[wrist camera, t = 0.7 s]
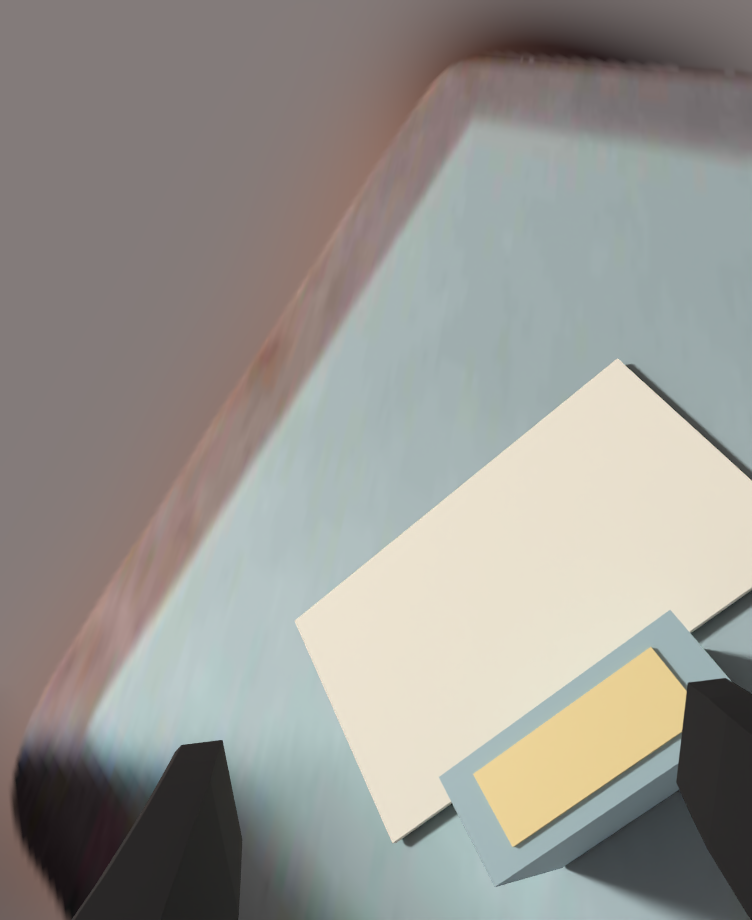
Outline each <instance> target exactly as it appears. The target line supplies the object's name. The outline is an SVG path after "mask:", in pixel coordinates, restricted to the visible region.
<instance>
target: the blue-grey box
mask: <svg viewBox="0 0 752 920" xmlns="http://www.w3.org/2000/svg"><path fill="white" fill-rule="evenodd" d="M720 678H727V679H728V680H730V679H729V678H728V677H727V675H726V674H725V673H724V672H723V671H722V670H721V668H720V667H719V666H718V665H717V664H716V663H715V661H714V660H713V659H712V658H711V657H710V656H709V654H708V653H707V652H706V651H705V650H704V649H703V647H702V646H701V645H700V644H699V643H698V641H697V640H696V639H695V638H694V637H693V636H692V634H691V633H690V632H689V631H688V630H687V629H686V627H685V626H684V625H683V624H682V623H681V622H680V620H679V619H678V618H677V617H676V616H675V615H674V613H673V612H672V611H671V610H669V611H668V612H666V613H665V614H663V615H662V616H661V617H659V618H658V619H657V620H655V621H654V622H652V623H651V624H650V625H648V626H647V627H645V628H644V629H643V630H641V631H640V632H639V633H637V634H636V635H634V636H633V637H632V638H630V639H629V640H628V641H626V642H625V643H623V644H622V645H621V646H619V647H618V648H616V649H615V650H614V651H612V652H611V653H610V654H608V655H607V656H605V657H604V658H603V659H601V660H600V661H598V662H597V663H596V664H594V665H593V666H592V667H590V668H589V669H587V670H586V671H585V672H583V673H582V674H581V675H579V676H578V677H576V678H575V679H574V680H572V681H571V682H569V683H568V684H567V685H565V686H564V687H563V688H561V689H560V690H558V691H557V692H556V693H554V694H553V695H552V696H550V697H549V698H547V699H546V700H545V701H543V702H542V703H540V704H539V705H538V706H536V707H535V708H534V709H532V710H531V711H529V712H528V713H527V714H525V715H524V716H522V717H521V718H520V719H518V720H517V721H516V722H514V723H513V724H511V725H510V726H509V727H507V728H506V729H505V730H503V731H502V732H500V733H499V734H498V735H496V736H495V737H493V738H492V739H491V740H489V741H488V742H487V743H485V744H484V745H482V746H481V747H480V748H478V749H477V750H476V751H474V752H473V753H471V754H470V755H469V756H467V757H466V758H464V759H463V760H462V761H460V762H459V763H458V764H456V765H455V766H453V767H452V768H451V769H449V770H448V771H446V772H445V773H444V774H442V775H441V776H440V777H439V779H440V781H441V783H442V784H443V786H444V788H445V790H446V792H447V794H448V796H449V798H450V800H451V802H452V804H453V806H454V808H455V810H456V812H457V814H458V816H459V818H460V820H461V822H462V824H463V826H464V828H465V830H466V832H467V834H468V836H469V838H470V839H471V841H472V843H473V845H474V847H475V849H476V851H477V853H478V855H479V857H480V859H481V861H482V863H483V865H484V867H485V869H486V871H487V873H488V875H489V877H490V879H491V881H492V883H493V885H494V887H497V886H500V885H504V884H507V883H511V882H514V881H518V880H521V879H525V878H528V877H532V876H535V875H539V874H542V873H546V872H549V871H553V870H556V869H560V868H563V867H564V866H566V865H567V864H569V863H570V862H572V861H573V860H575V859H576V858H578V857H579V856H581V855H582V854H584V853H585V852H587V851H588V850H590V849H591V848H593V847H594V846H596V845H597V844H599V843H600V842H602V841H603V840H605V839H606V838H607V837H609V836H610V835H612V834H613V833H615V832H616V831H618V830H619V829H621V828H622V827H624V826H625V825H627V824H628V823H630V822H631V821H633V820H634V819H636V818H637V817H639V816H640V815H642V814H643V813H645V812H646V811H648V810H649V809H651V808H652V807H654V806H655V805H657V804H658V803H660V802H661V801H663V800H664V799H666V798H667V797H669V796H670V795H672V794H673V793H675V792H676V791H678V790H679V787H678V785H677V783H676V779H677V771H678V762H679V753H680V745H681V736H682V728H683V719H684V710H685V702H686V693H687V684H688V682H696V681H704V680H712V679H720ZM730 681H731V680H730Z"/></svg>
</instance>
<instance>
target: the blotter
mask: <svg viewBox="0 0 752 920" xmlns="http://www.w3.org/2000/svg"><path fill="white" fill-rule="evenodd" d="M751 590H752V480H751V479H749V478H748V477H747V476H746V475H745V474H744V473H743V472H742V471H741V470H740V469H738V468H737V467H736V466H735V465H734V464H733V463H732V462H731V461H730V460H729V459H728V458H726V457H725V456H724V455H723V454H722V453H721V452H720V451H719V450H718V449H717V448H715V447H714V446H713V445H712V444H711V443H710V442H709V441H708V440H707V439H706V438H704V437H703V436H702V435H701V434H700V433H699V432H698V431H697V430H696V429H695V428H693V427H692V426H691V425H690V424H689V423H688V422H687V421H686V420H685V419H684V418H682V417H681V416H680V415H679V414H678V413H677V412H676V411H675V410H674V409H673V408H671V407H670V406H669V405H668V404H667V403H666V402H665V401H664V400H663V399H662V398H660V397H659V396H658V395H657V394H656V393H655V392H654V391H653V390H652V389H651V388H649V387H648V386H647V385H646V384H645V383H644V382H643V381H642V380H641V379H640V378H638V377H637V376H636V375H635V374H634V373H633V372H632V371H631V370H630V369H629V368H627V367H626V366H625V365H624V364H623V363H622V362H621V361H620V360H619V359H618V358H617V359H616V360H615V361H614V362H612V363H611V364H610V365H609V366H608V367H606V368H605V369H604V370H603V371H601V372H600V373H599V374H598V375H596V376H595V377H594V378H593V379H592V380H590V381H589V382H588V383H587V384H585V385H584V386H583V387H582V388H581V389H579V390H578V391H577V392H576V393H574V394H573V395H572V396H571V397H569V398H568V399H567V400H566V401H565V402H563V403H562V404H561V405H560V406H558V407H557V408H556V409H555V410H553V411H552V412H551V413H550V414H549V415H547V416H546V417H545V418H544V419H542V420H541V421H540V422H539V423H537V424H536V425H535V426H534V427H533V428H531V429H530V430H529V431H528V432H526V433H525V434H524V435H523V436H521V437H520V438H519V439H518V440H517V441H515V442H514V443H513V444H512V445H510V446H509V447H508V448H507V449H505V450H504V451H503V452H502V453H501V454H499V455H498V456H497V457H496V458H494V459H493V460H492V461H491V462H489V463H488V464H487V465H486V466H485V467H483V468H482V469H481V470H480V471H478V472H477V473H476V474H475V475H473V476H472V477H471V478H470V479H469V480H467V481H466V482H465V483H464V484H462V485H461V486H460V487H459V488H457V489H456V490H455V491H454V492H453V493H451V494H450V495H449V496H448V497H446V498H445V499H444V500H443V501H441V502H440V503H439V504H438V505H437V506H435V507H434V508H433V509H432V510H430V511H429V512H428V513H427V514H425V515H424V516H423V517H422V518H421V519H419V520H418V521H417V522H416V523H414V524H413V525H412V526H411V527H409V528H408V529H407V530H406V531H405V532H403V533H402V534H401V535H400V536H398V537H397V538H396V539H395V540H393V541H392V542H391V543H390V544H389V545H387V546H386V547H385V548H384V549H382V550H381V551H380V552H379V553H377V554H376V555H375V556H374V557H373V558H371V559H370V560H369V561H368V562H366V563H365V564H364V565H363V566H361V567H360V568H359V569H358V570H357V571H355V572H354V573H353V574H352V575H350V576H349V577H348V578H347V579H345V580H344V581H343V582H342V583H341V584H339V585H338V586H337V587H336V588H334V589H333V590H332V591H331V592H329V593H328V594H327V595H326V596H325V597H323V598H322V599H321V600H320V601H318V602H317V603H316V604H315V605H313V606H312V607H311V608H310V609H309V610H307V611H306V612H305V613H304V614H302V615H301V616H300V617H299V618H297V619H296V620H295V623H296V625H297V627H298V629H299V632H300V634H301V636H302V639H303V641H304V643H305V645H306V648H307V650H308V652H309V654H310V657H311V659H312V661H313V664H314V666H315V668H316V670H317V673H318V675H319V677H320V679H321V682H322V684H323V686H324V689H325V691H326V693H327V695H328V698H329V700H330V702H331V704H332V707H333V709H334V711H335V714H336V716H337V718H338V720H339V723H340V725H341V727H342V729H343V732H344V734H345V736H346V739H347V741H348V743H349V745H350V748H351V750H352V752H353V754H354V757H355V759H356V761H357V764H358V766H359V768H360V770H361V773H362V775H363V777H364V779H365V782H366V784H367V786H368V788H369V791H370V793H371V795H372V798H373V800H374V802H375V804H376V807H377V809H378V811H379V813H380V816H381V818H382V820H383V823H384V825H385V827H386V829H387V832H388V834H389V836H390V838H391V841H392V843H397V842H398V841H400V840H401V839H402V838H404V837H405V836H407V835H408V834H409V833H411V832H412V831H414V830H415V829H416V828H418V827H419V826H421V825H422V824H423V823H425V822H426V821H428V820H429V819H431V818H432V817H433V816H435V815H436V814H438V813H439V812H440V811H442V810H443V809H445V808H446V807H447V806H449V805H450V804H452V802H451V800H450V798H449V796H448V794H447V792H446V790H445V788H444V786H443V784H442V783H441V781H440V779H439V777H440V776H441V775H442V774H444V773H445V772H446V771H448V770H449V769H451V768H452V767H453V766H455V765H456V764H458V763H459V762H460V761H462V760H463V759H464V758H466V757H467V756H469V755H470V754H471V753H473V752H474V751H476V750H477V749H478V748H480V747H481V746H482V745H484V744H485V743H487V742H488V741H489V740H491V739H492V738H493V737H495V736H496V735H498V734H499V733H500V732H502V731H503V730H505V729H506V728H507V727H509V726H510V725H511V724H513V723H514V722H516V721H517V720H518V719H520V718H521V717H522V716H524V715H525V714H527V713H528V712H529V711H531V710H532V709H534V708H535V707H536V706H538V705H539V704H540V703H542V702H543V701H545V700H546V699H547V698H549V697H550V696H552V695H553V694H554V693H556V692H557V691H558V690H560V689H561V688H563V687H564V686H565V685H567V684H568V683H569V682H571V681H572V680H574V679H575V678H576V677H578V676H579V675H581V674H582V673H583V672H585V671H586V670H587V669H589V668H590V667H592V666H593V665H594V664H596V663H597V662H598V661H600V660H601V659H603V658H604V657H605V656H607V655H608V654H610V653H611V652H612V651H614V650H615V649H616V648H618V647H619V646H621V645H622V644H623V643H625V642H626V641H628V640H629V639H630V638H632V637H633V636H634V635H636V634H637V633H639V632H640V631H641V630H643V629H644V628H645V627H647V626H648V625H650V624H651V623H652V622H654V621H655V620H657V619H658V618H659V617H661V616H662V615H663V614H665V613H666V612H668V611H669V610H671V611H672V612H673V613H674V615H675V616H676V617H677V618H678V619H679V620H680V622H681V623H682V624H683V625H684V626H685V627H686V629H687V630H688V631H689V632H690V633H692V632H693V631H695V630H696V629H698V628H699V627H700V626H702V625H703V624H705V623H706V622H707V621H709V620H710V619H712V618H713V617H714V616H716V615H717V614H719V613H720V612H721V611H723V610H724V609H726V608H727V607H728V606H730V605H731V604H733V603H734V602H735V601H737V600H738V599H740V598H741V597H742V596H744V595H745V594H747V593H748V592H749V591H751Z"/></svg>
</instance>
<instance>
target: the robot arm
mask: <svg viewBox="0 0 752 920" xmlns="http://www.w3.org/2000/svg"><path fill="white" fill-rule="evenodd" d="M676 783H677V785H678V787H679V790H680V792H681V794H682V796H683V798H684V801H685V803H686V805H687V807H688V809H689V812H690V814H691V816H692V818H693V820H694V822H695V824H696V826H697V828H698V830H699V832H700V834H701V836H702V839H703V841H704V843H705V845H706V847H707V849H708V850H709V852H710V854H711V855H712V857H713V859H714V860H715V862H716V864H717V865H718V867H719V869H720V870H721V872H722V874H723V875H724V877H725V879H726V880H727V882H728V883H729V885H730V887H731V888H732V890H733V892H734V893H735V895H736V896H737V898H738V900H739V901H740V903H741V905H742V906H743V908H744V909H745V911H746V913H747V914H748V916H749V917H750V919H751V920H752V694H751V693H749V692H748V691H746V690H744V689H743V688H741V687H740V686H738V685H736V684H735V683H733V682H732V681H730V680H728V679H727V678H720V679H712V680H704V681H696V682H688V684H687V693H686V702H685V710H684V719H683V728H682V736H681V745H680V753H679V762H678V771H677V779H676ZM241 857H242V836H241V831H240V826H239V821H238V816H237V811H236V806H235V801H234V796H233V791H232V786H231V781H230V776H229V771H228V766H227V761H226V756H225V751H224V746H223V741H222V740H219V741H211V742H203V743H194V744H186V745H181V746H180V747H179V748H178V750H177V751H176V752H175V753H174V755H173V757H172V759H171V761H170V763H169V764H168V766H167V768H166V770H165V772H164V773H163V775H162V777H161V779H160V781H159V782H158V784H157V786H156V788H155V789H154V791H153V793H152V795H151V796H150V798H149V800H148V802H147V803H146V805H145V807H144V808H143V810H142V812H141V813H140V815H139V817H138V818H137V820H136V822H135V823H134V825H133V827H132V828H131V830H130V832H129V833H128V835H127V836H126V838H125V840H124V841H123V843H122V844H121V846H120V847H119V849H118V851H117V852H116V854H115V855H114V857H113V859H112V860H111V862H110V863H109V865H108V866H107V868H106V870H105V871H104V873H103V874H102V876H101V878H100V879H99V881H98V882H97V884H96V885H95V887H94V888H93V890H92V891H91V893H90V894H89V896H88V897H87V898H86V900H85V901H84V903H83V904H82V906H81V907H80V908H79V910H78V911H77V913H76V914H75V916H74V917H73V919H72V920H238V915H239V899H240V880H241Z"/></svg>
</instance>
